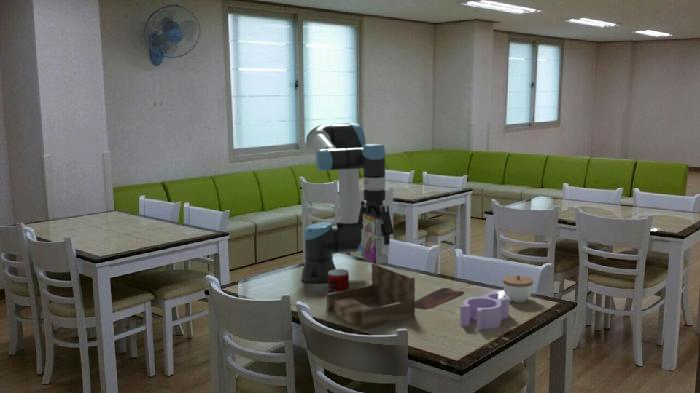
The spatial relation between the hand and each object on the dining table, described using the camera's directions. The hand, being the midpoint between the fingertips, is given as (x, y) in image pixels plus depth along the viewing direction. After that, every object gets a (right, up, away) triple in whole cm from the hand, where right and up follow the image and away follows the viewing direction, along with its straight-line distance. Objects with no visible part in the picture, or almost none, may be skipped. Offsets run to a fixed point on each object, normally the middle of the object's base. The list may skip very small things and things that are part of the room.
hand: (375, 250), depth 224 cm
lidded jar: (+53, -20, +13) cm, 58 cm away
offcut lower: (-8, -24, -2) cm, 25 cm away
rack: (-1, -22, +2) cm, 23 cm away
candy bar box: (0, -4, +1) cm, 4 cm away
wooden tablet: (+23, -21, +16) cm, 35 cm away
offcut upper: (-8, -21, -2) cm, 23 cm away
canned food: (-13, -20, +17) cm, 30 cm away
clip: (+37, -24, -7) cm, 45 cm away
